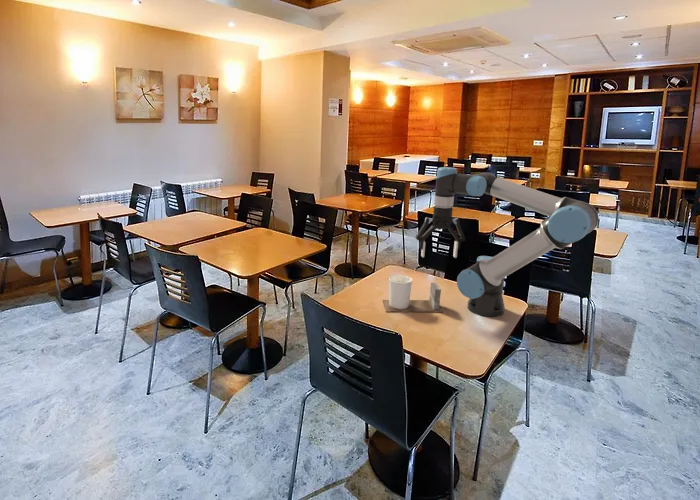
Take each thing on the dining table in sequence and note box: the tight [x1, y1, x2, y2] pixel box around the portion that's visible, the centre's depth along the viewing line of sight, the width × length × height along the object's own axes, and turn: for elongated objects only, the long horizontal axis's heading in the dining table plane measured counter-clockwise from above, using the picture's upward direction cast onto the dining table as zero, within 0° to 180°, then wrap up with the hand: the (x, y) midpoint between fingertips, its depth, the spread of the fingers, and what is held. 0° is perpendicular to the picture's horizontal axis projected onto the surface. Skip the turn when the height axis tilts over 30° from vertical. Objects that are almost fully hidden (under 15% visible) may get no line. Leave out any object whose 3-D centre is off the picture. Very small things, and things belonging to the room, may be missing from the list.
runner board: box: [382, 282, 444, 313], centre depth 188 cm, size 24×12×9 cm, turn 93°
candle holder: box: [388, 274, 413, 309], centre depth 188 cm, size 10×10×12 cm
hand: (438, 256), depth 184 cm, fingers open, 13 cm apart
